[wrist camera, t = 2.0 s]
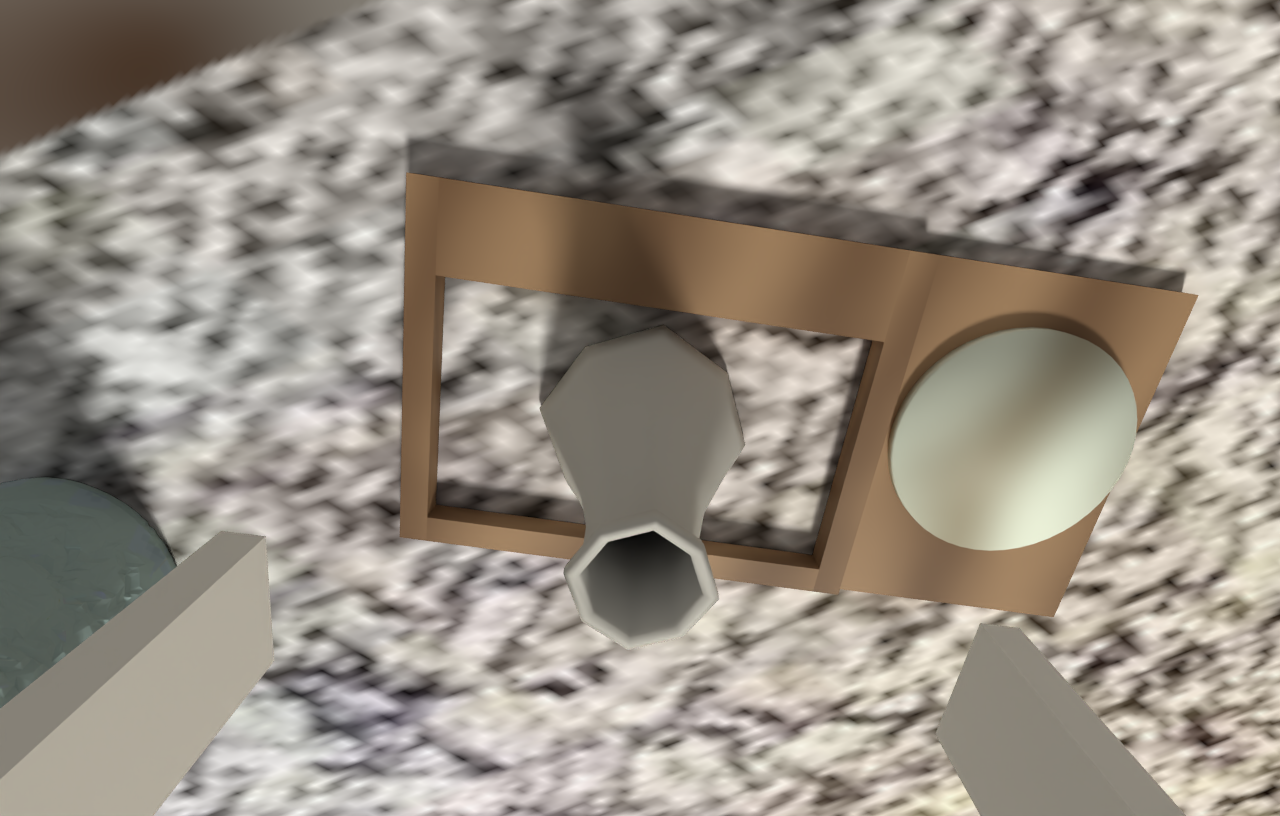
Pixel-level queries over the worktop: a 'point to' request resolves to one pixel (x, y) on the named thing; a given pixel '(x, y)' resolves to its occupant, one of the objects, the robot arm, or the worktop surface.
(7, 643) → the green cup
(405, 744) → the worktop surface
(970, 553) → the board
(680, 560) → the flask
